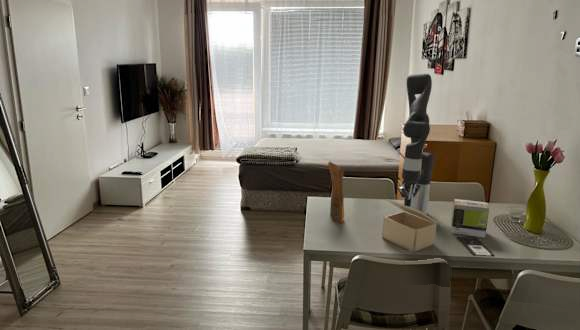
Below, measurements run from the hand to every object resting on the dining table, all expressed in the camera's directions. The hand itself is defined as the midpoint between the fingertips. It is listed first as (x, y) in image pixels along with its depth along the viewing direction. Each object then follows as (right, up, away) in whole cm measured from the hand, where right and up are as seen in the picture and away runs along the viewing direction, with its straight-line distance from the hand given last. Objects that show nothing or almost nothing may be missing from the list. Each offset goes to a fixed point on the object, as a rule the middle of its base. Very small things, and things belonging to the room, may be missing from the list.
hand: (407, 206), depth 186 cm
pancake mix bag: (-28, -9, +32) cm, 43 cm away
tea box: (+34, -14, +18) cm, 41 cm away
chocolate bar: (+31, -18, +3) cm, 36 cm away
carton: (+2, -16, +6) cm, 17 cm away
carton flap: (+3, -3, +3) cm, 5 cm away
